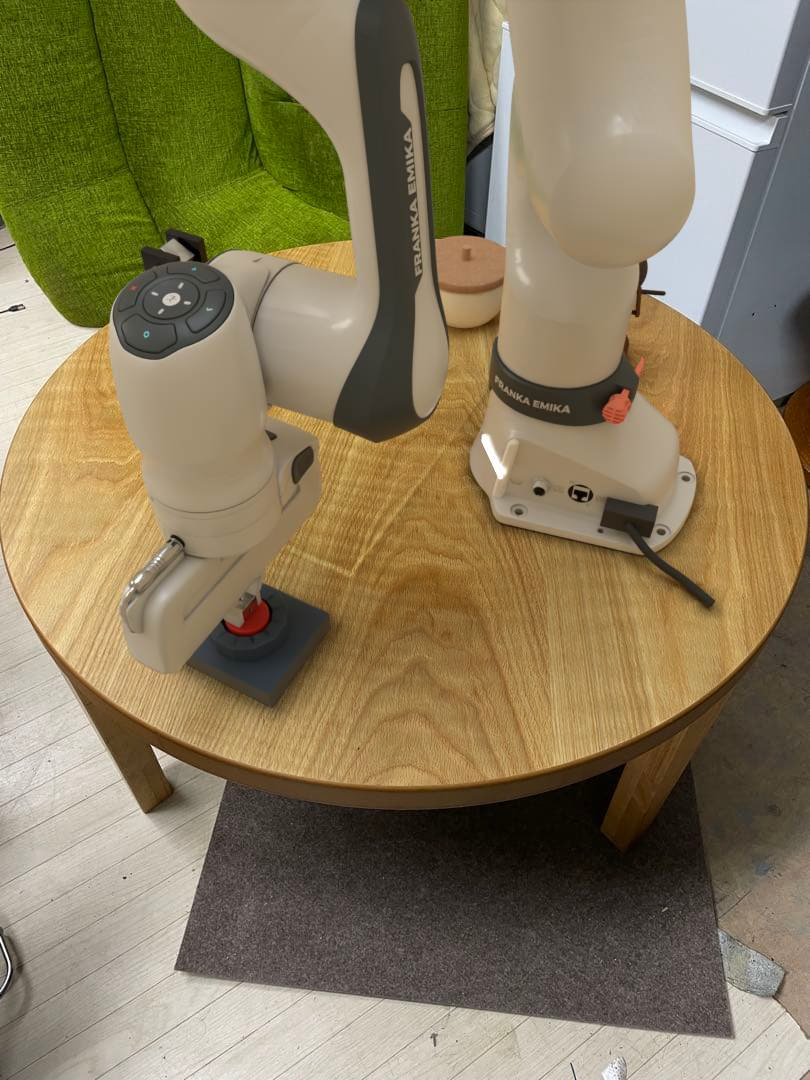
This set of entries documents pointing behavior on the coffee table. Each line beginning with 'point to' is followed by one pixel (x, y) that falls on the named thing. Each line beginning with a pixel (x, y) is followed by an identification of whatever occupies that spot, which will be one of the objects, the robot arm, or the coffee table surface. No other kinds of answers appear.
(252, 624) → the button
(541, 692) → the coffee table surface
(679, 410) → the coffee table surface
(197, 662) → the button block
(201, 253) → the bracket
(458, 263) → the trinket box
